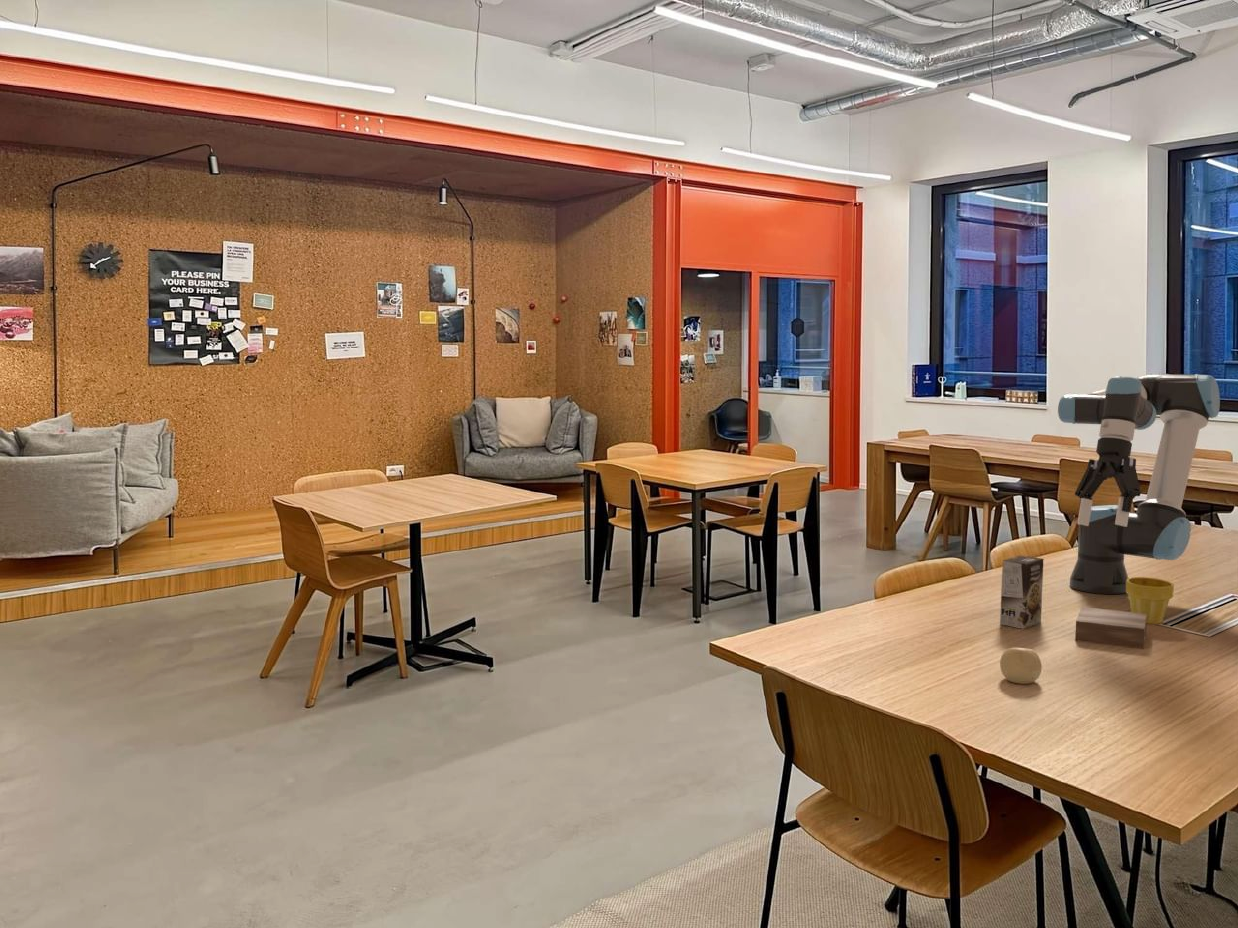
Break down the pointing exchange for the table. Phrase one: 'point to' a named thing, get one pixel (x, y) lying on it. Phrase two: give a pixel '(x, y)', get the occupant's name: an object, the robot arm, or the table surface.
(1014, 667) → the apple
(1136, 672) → the table surface
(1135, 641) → the walnut block
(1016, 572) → the coffee box
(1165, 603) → the plant pot
